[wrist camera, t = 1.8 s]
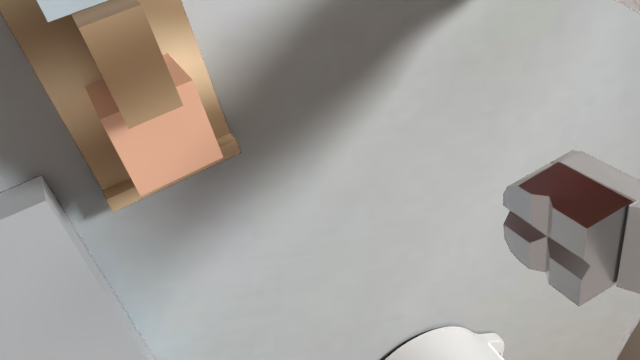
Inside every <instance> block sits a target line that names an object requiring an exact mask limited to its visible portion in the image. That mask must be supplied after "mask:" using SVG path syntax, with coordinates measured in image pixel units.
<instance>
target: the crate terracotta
mask: <svg viewBox="0 0 640 360" xmlns="http://www.w3.org/2000/svg"><path fill="white" fill-rule="evenodd" d="M163 58H164V60H165V63H166V65H167V67H168V70H169V72H170V75H171V77H172V79H173V82H174V84H175V87H176V89H177V91H178V94H179V96H180V99H181V101H182V103H183V106H182V107H179V108H177V109H175V110H172V111H170V112H168V113H165V114H163V115H161V116H158V117H156V118H154V119H151V120H149V121H147V122H144V123H142V124H140V125H137V126H135V127H133V128H130V129H128V127H127V125H126V123H125V121H124V119H123V117H122V115H121V113H120V111H119V109H118V107H117V105H116V103H115V101H114V99H113V97H112V96H111V94H110V92H109V90H108V88H107V86H106V84H105V82H104V80H101V81H99V82H96V83H94V84H91V85H89V86H86V87H85V88H86V90H87V93H88V95H89V97H90V99H91V101H92V104H93V106H94V108H95V110H96V112H97V115H98V117H99V119H100V121H101V123H102V125H103V127H104V128H105V130H106V132H107V134H108V136H109V138H110V140H111V142H112V143H113V145H114V147H115V149H116V151H117V153H118V155H119V157H120V159H121V160H122V162H123V164H124V166H125V168H126V170H127V172H128V174H129V175H130V177H131V179H132V181H133V183H134V185H135V187H136V189H137V190H138V192H139V194H140V196H143V195H145V194H147V193H150V192H152V191H154V190H156V189H158V188H160V187H162V186H164V185H166V184H168V183H171V182H173V181H175V180H177V179H179V178H181V177H183V176H185V175H187V174H190V173H192V172H194V171H196V170H198V169H200V168H202V167H204V166H206V165H208V164H211V163H213V162H215V161H217V160H219V159H221V158H223V155H222V152H221V150H220V147H219V145H218V142H217V140H216V137H215V135H214V132H213V130H212V127H211V125H210V122H209V120H208V117H207V115H206V112H205V110H204V107H203V105H202V102H201V99H200V97H199V94H198V92H197V89H196V87H195V84H194V82H193V80H192V79H191V78H190V76H189V75H188V74H187V73H186V72H185V71H184V70H183V69H182V68H181V67H180V66H179V65H178V64H177V63H176V62H175V60H174V59H173V58H172V57H171V56H170V55H169V54H168V53H167V54H165V55H163Z"/></svg>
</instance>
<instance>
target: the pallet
mask: <svg viewBox="0 0 640 360" xmlns="http://www.w3.org/2000/svg"><path fill="white" fill-rule="evenodd" d="M0 12H1V14H2V16H3V17H4V19H5V21H6V22H7V24H8V26H9V28H10V29H11V31H12V33H13V35H14V36H15V38H16V40H17V42H18V43H19V45H20V47H21V49H22V50H23V52H24V54H25V56H26V57H27V59H28V61H29V63H30V64H31V66H32V68H33V70H34V71H35V73H36V75H37V77H38V78H39V80H40V82H41V84H42V85H43V87H44V89H45V90H46V92H47V94H48V96H49V97H50V99H51V101H52V103H53V104H54V106H55V108H56V110H57V111H58V113H59V115H60V117H61V118H62V120H63V122H64V124H65V125H66V127H67V129H68V131H69V132H70V134H71V136H72V138H73V139H74V141H75V143H76V145H77V146H78V148H79V150H80V151H81V153H82V155H83V157H84V158H85V160H86V162H87V164H88V165H89V167H90V169H91V171H92V172H93V174H94V176H95V178H96V179H97V181H98V183H99V185H100V186H101V188H102V190H103V192H104V195H105V198H106V201H107V202H108V204H109V206H110V208H111V209H112V211H113V212H115V211H117V210H119V209H121V208H123V207H125V206H128V205H130V204H132V203H134V202H136V201H138V200H140V199H143V198H145V197H147V196H149V195H151V194H153V193H156V192H158V191H160V190H162V189H164V188H166V187H168V186H171V185H173V184H175V183H177V182H179V181H181V180H183V179H186V178H188V177H190V176H192V175H194V174H196V173H198V172H201V171H203V170H205V169H207V168H209V167H211V166H213V165H216V164H218V163H220V162H222V161H224V160H226V159H228V158H231V157H233V156H235V155H237V154H239V153H241V151H240V148H239V145H238V142H237V140H236V139H235V138H234V136H233V135H232V134H231V133H230V131H229V128H228V125H227V123H226V120H225V117H224V115H223V112H222V109H221V107H220V104H219V101H218V99H217V96H216V93H215V90H214V88H213V85H212V82H211V80H210V77H209V74H208V72H207V69H206V66H205V64H204V61H203V58H202V56H201V53H200V50H199V47H198V45H197V42H196V39H195V37H194V34H193V31H192V29H191V26H190V23H189V21H188V18H187V15H186V13H185V10H184V7H183V4H182V2H181V0H108V1H106V2H103V3H100V4H97V5H95V6H92V7H89V8H86V9H83V10H81V11H78V12H75V13H72V14H70V15H67V16H64V17H61V18H58V19H56V20H53V21H50V22H48V21H47V19H46V17H45V15H44V14H43V12H42V10H41V8H40V6H39V4H38V2H37V0H0ZM167 53H168V54H169V55H170V56H171V57H172V58H173V59H174V60H175V62H176V63H177V64H178V65H179V66H180V67H181V68H182V69H183V70H184V71H185V72H186V73H187V74H188V75H189V76H190V78H191V79H192V80H193V82H194V84H195V87H196V89H197V92H198V94H199V97H200V99H201V102H202V105H203V107H204V110H205V112H206V115H207V117H208V120H209V122H210V125H211V127H212V130H213V132H214V135H215V137H216V140H217V142H218V145H219V147H220V150H221V152H222V155H223V158H221V159H219V160H217V161H215V162H213V163H211V164H208V165H206V166H204V167H202V168H200V169H198V170H196V171H194V172H192V173H190V174H187V175H185V176H183V177H181V178H179V179H177V180H175V181H173V182H171V183H168V184H166V185H164V186H162V187H160V188H158V189H156V190H154V191H152V192H150V193H147V194H145V195H143V196H140V194H139V192H138V190H137V189H136V187H135V185H134V183H133V181H132V179H131V177H130V175H129V174H128V172H127V170H126V168H125V166H124V164H123V162H122V160H121V159H120V157H119V155H118V153H117V151H116V149H115V147H114V145H113V143H112V142H111V140H110V138H109V136H108V134H107V132H106V130H105V128H104V127H103V125H102V123H101V121H100V119H99V117H98V115H97V112H96V110H95V108H94V106H93V104H92V101H91V99H90V97H89V95H88V93H87V90H86V88H85V87H86V86H89V85H91V84H94V83H96V82H99V81H101V80H104V82H105V84H106V86H107V88H108V90H109V92H110V94H111V96H112V97H113V99H114V101H115V103H116V105H117V107H118V109H119V111H120V113H121V115H122V117H123V119H124V121H125V123H126V125H127V127H128V129H130V128H133V127H135V126H137V125H140V124H142V123H144V122H147V121H149V120H151V119H154V118H156V117H158V116H161V115H163V114H165V113H168V112H170V111H172V110H175V109H177V108H179V107H182V106H183V103H182V101H181V99H180V96H179V94H178V91H177V89H176V87H175V84H174V82H173V79H172V77H171V75H170V72H169V70H168V67H167V65H166V63H165V60H164V58H163V55H165V54H167Z"/></svg>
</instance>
